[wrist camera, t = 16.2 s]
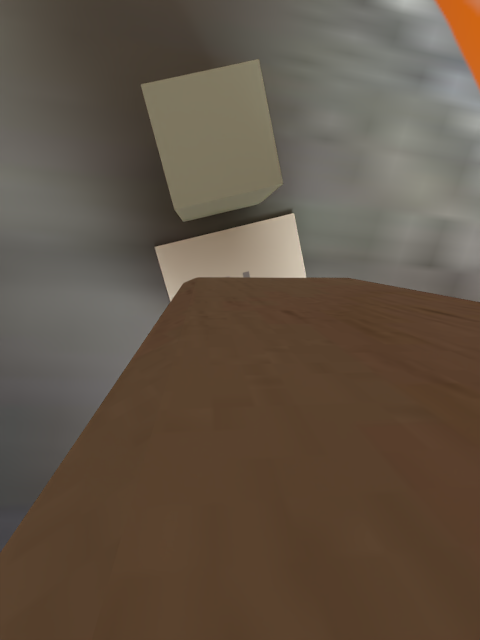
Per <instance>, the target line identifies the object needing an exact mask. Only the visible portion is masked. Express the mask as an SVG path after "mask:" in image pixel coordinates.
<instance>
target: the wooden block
mask: <svg viewBox="0 0 480 640" xmlns="http://www.w3.org/2000/svg"><path fill="white" fill-rule="evenodd" d="M0 640H480V302H475V301H470V300H464V299H459V298H453V297H448V296H443V295H437V294H432V293H427V292H421V291H416V290H410V289H405V288H400V287H394V286H389V285H383V284H378V283H373V282H367V281H362V280H356V279H351V278H258V277H197V278H194V279H192V280H189V281H187V282H184V283H183V284H182V286H181V287H180V289H179V290H178V292H177V293H176V295H175V296H174V298H173V299H172V300H171V302H170V303H169V305H168V306H167V308H166V309H165V311H164V312H163V314H162V315H161V317H160V318H159V320H158V321H157V323H156V324H155V326H154V327H153V329H152V330H151V331H150V333H149V334H148V336H147V337H146V339H145V340H144V342H143V343H142V345H141V346H140V348H139V349H138V351H137V352H136V354H135V355H134V357H133V358H132V359H131V361H130V362H129V364H128V365H127V367H126V368H125V370H124V371H123V373H122V374H121V376H120V377H119V379H118V380H117V382H116V383H115V385H114V386H113V388H112V389H111V390H110V392H109V393H108V395H107V396H106V398H105V399H104V401H103V402H102V404H101V405H100V407H99V408H98V410H97V411H96V413H95V414H94V416H93V417H92V418H91V420H90V421H89V423H88V424H87V426H86V427H85V429H84V430H83V432H82V433H81V435H80V436H79V438H78V439H77V441H76V442H75V444H74V445H73V447H72V448H71V449H70V451H69V452H68V454H67V455H66V457H65V458H64V460H63V461H62V463H61V464H60V466H59V467H58V469H57V470H56V472H55V473H54V475H53V476H52V477H51V479H50V480H49V482H48V483H47V485H46V486H45V488H44V489H43V491H42V492H41V494H40V495H39V497H38V498H37V500H36V501H35V503H34V504H33V506H32V507H31V508H30V510H29V511H28V513H27V514H26V516H25V517H24V519H23V520H22V522H21V523H20V525H19V526H18V528H17V529H16V531H15V532H14V534H13V535H12V537H11V538H10V539H9V541H8V542H7V544H6V545H5V547H4V548H3V550H2V551H1V553H0Z"/></svg>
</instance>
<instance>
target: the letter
mask: <svg viewBox="0 0 480 640" xmlns="http://www.w3.org/2000/svg"><path fill="white" fill-rule="evenodd" d="M155 250H156V254H157V257H158V261H159V264H160V267H161V271H162V274H163V278H164V281H165V285H166V288H167V292H168V295H169V298H170V302H171V300H172V299H173V298H174V296H175V295H176V293H177V292H178V290H179V289H180V287H181V286H182V284H183V283H184V282H187V281H189V280H192V279H194V278H197V277H258V278H306V273H305V268H304V263H303V257H302V252H301V247H300V242H299V237H298V231H297V226H296V221H295V216H294V213H292V214H288V215H284V216H280V217H276V218H272V219H268V220H264V221H259V222H255V223H251V224H247V225H243V226H239V227H235V228H231V229H227V230H222V231H218V232H214V233H210V234H206V235H202V236H198V237H194V238H189V239H185V240H181V241H177V242H173V243H169V244H165V245H161V246H157V247H155Z"/></svg>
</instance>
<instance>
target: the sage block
mask: <svg viewBox="0 0 480 640" xmlns="http://www.w3.org/2000/svg"><path fill="white" fill-rule="evenodd" d="M141 88H142V92H143V95H144V99H145V103H146V106H147V110H148V114H149V118H150V121H151V125H152V129H153V132H154V136H155V140H156V144H157V147H158V151H159V155H160V158H161V162H162V166H163V170H164V173H165V177H166V181H167V184H168V188H169V192H170V196H171V199H172V203H173V207H174V210H175V211H176V213H177V214H178V215H179V217H180V218H181V220H182V221H183V222H186V221H190V220H195V219H199V218H203V217H207V216H211V215H216V214H220V213H224V212H228V211H232V210H236V209H241V208H245V207H249V206H253V205H257V204H260V203H261V202H262V201H263V200H265V199H266V198H267V197H268V196H269V195H271V194H272V193H273V192H274V191H275V190H277V189H278V188H279V187H280V186H281V185H282V184H283V180H282V175H281V170H280V165H279V160H278V155H277V150H276V145H275V139H274V134H273V129H272V124H271V119H270V114H269V109H268V104H267V98H266V93H265V88H264V83H263V78H262V73H261V68H260V63H259V59H257V60H252V61H247V62H243V63H238V64H233V65H229V66H224V67H219V68H215V69H210V70H206V71H201V72H196V73H192V74H187V75H182V76H178V77H173V78H168V79H164V80H159V81H154V82H150V83H145V84H141Z"/></svg>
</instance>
